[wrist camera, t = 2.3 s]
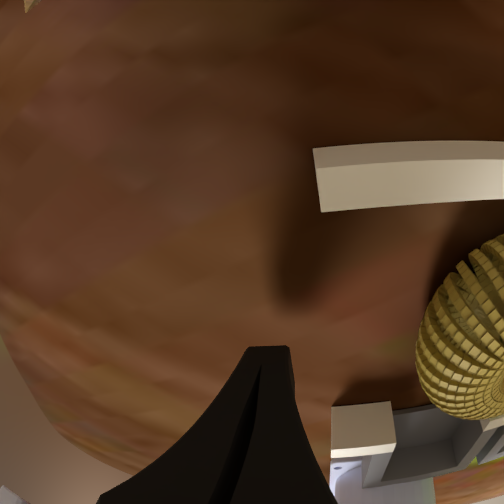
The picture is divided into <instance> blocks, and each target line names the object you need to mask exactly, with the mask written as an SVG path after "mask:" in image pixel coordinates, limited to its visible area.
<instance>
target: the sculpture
mask: <svg viewBox="0 0 504 504" xmlns="http://www.w3.org/2000/svg"><path fill="white" fill-rule="evenodd" d="M468 256H469V260H470V263H471V266H472V268H473V269H474V271H475V274H476V276H477V277H476V276H475V275H474V274H473V272H472V271H471V269H470V268H469V267H468V266H467V264H466V263H465V262H464V261H463V260H461V261H460V262H459V263H458V264H457V265H456V268H457V270H458V272H459V273H460V275H459V274H458V273H455V272H451V273H449V274H448V275H447V278H445V279H444V282H443V283H445V284H443V285H442V286H440V287H438V289H437V290H436V292H435V294H434V296H433V299H432V301H430V303H429V305H428V307H427V309H426V311H425V315H424V317H423V320H422V321H421V324H420V325H421V326H420V328H419V332H418V338H417V340H416V344H417V345H416V360H415V362H416V368H417V373H418V376H419V379H420V380H419V381H420V383H421V386H422V389H423V390H425V393H426V395H427V396H428V397H429V400H430V401H431V402H432V403H433V404H435V405H436V406H437V407H438V408H440V409H441V411H443V412H445V413H447V414H449V415H452V416H454V417H456V418H458V417H459V418H461V419H468V420H470V419H472V420H473V419H474V420H481V419H482V420H483V419H488V418H494V417H497V416H499V415H500V416H501V415H502V414H503V415H504V234H502V235H499V236H497V238H495V239H494V241H493V239H492V240H489V241H487V243H486V242H485V243H484V244H483V245H482V246H481V248H480V250H479V251H478V249H475V251H474V250H473V251H472V252H471V254H470V253H469V255H468ZM482 270H483V271H482ZM461 276H462V277H461ZM477 278H478V279H479V280H478V279H477ZM458 286H459V287H458ZM463 288H464V289H463ZM465 289H466V290H465ZM499 336H501V339H502V342H503V343H502V342H501V341H500V337H499ZM451 338H452V339H451ZM500 342H501V343H500ZM485 346H486V347H485ZM476 360H477V361H476Z"/></svg>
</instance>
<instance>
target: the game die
mask: <svg viewBox="0 0 504 504" xmlns="http://www.w3.org/2000/svg"><path fill="white" fill-rule="evenodd" d="M40 1H41V0H24V4H25V13H27V12H28V11H29V10H30V9H31V8H33V7H34V6H35V5H36V4H37V3H39V2H40Z"/></svg>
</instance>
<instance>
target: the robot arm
mask: <svg viewBox="0 0 504 504" xmlns="http://www.w3.org/2000/svg"><path fill="white" fill-rule="evenodd" d="M361 463H362V456H354V457H342V458H335V459H332V460H331V464H330V488H329V486H328V484H327V482H326V479H325V477H324V475H323V473H322V471H321V469H320V467H319V465H318V463H317V461H316V458H315V456H314V454H313V451H312V449H311V446H310V444H309V441H308V439H307V436H306V433H305V430H304V428H303V425H302V422H301V419H300V415H299V412H298V409H297V405H296V402H295V381H294V374H293V368H292V361H291V355H290V348H289V347H287V346H286V345H283V346H256V347H248V348H247V349H246V351H245V352H244V354H243V356H242V358H241V360H240V361H239V363H238V365H237V366H236V368H235V370H234V371H233V373H232V374H231V376H230V377H229V379H228V380H227V382H226V383H225V385H224V386H223V388H222V389H221V391H220V392H219V394H218V395H217V396H216V398H215V399H214V400H213V402H212V403H211V404H210V405H209V407H208V408H207V409H206V410H205V412H204V413H203V414H202V415H201V417H200V418H199V419H198V420H197V421H196V422H195V424H194V425H193V426H192V427H191V428H190V429H189V430H188V431H187V432H186V433H185V434H184V435H183V436H182V437H181V438H180V439H179V440H178V441H177V442H176V443H175V444H174V445H173V446H172V447H171V448H169V449H168V450H167V451H166V452H165V453H164V454H163V455H161V456H160V457H159V458H158V459H156V460H155V461H154V462H153V463H151V464H150V465H148V466H147V467H146V468H144V469H143V470H142V471H140V472H139V473H137V474H136V475H134V476H133V477H132V478H130V479H129V480H127V481H125V482H123V483H121V484H120V485H118V486H116V487H114V488H113V489H111V490H109V491H107V492H105V493H103V494H101V495H100V497H99V499H98V501H97V503H96V504H436V501H435V492H434V484H433V477H431V478H426V479H422V480H417V481H411V482H406V483H398V484H392V485H386V486H380V487H372V488H364V489H362V467H361ZM0 504H30V503H28V502H27V501H25V500H24V499H22V498H21V497H19V496H18V495H16V494H15V493H14V492H12V491H11V490H9V489H8V488H7V487H5V486H2V487H1V489H0Z"/></svg>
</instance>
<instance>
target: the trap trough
mask: <svg viewBox="0 0 504 504" xmlns="http://www.w3.org/2000/svg"><path fill="white" fill-rule="evenodd" d="M313 156H314V163H315V171H316V179H317V186H318V193H319V200H320V207H321V212H331V211H341V210H352V209H363V208H375V207H387V206H399V205H412V204H426V203H440V202H456V201H472V200H491V199H504V142H499V141H406V142H385V143H369V144H355V145H343V146H332V147H322V148H313ZM354 456H362V463H361V467H362V489H364V488H372V487H380V486H386V485H392V484H398V483H406V482H411V481H417V480H422V479H426V478H431V477H435V476H440V475H444V474H448V473H451V472H455V471H459V470H462V469H465V468H466V467H467V466H468V465H469V464H470V463H471V461H472V460H473V459H474V458H475V457H477V462H478V465H479V464H482V463H485V462H488V461H491V460H494V459H496V458H499V457H502V456H504V415H503V414H502V415H501V416H500V415H499V416H497V417H494V418H488V419H483V420H482V419H481V420H474V419H473V420H472V419H470V420H468V419H461V418H459V417H458V418H456V417H454V416H452V415H449V414H447V413H445V412H443V411H441V409H440V408H438V407H437V406H436V405H435V404H431V405H426V406H420V407H414V408H408V409H402V410H395V411H392V407H391V401H386V402H378V403H370V404H360V405H349V406H337V407H331V458H342V457H354Z"/></svg>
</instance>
